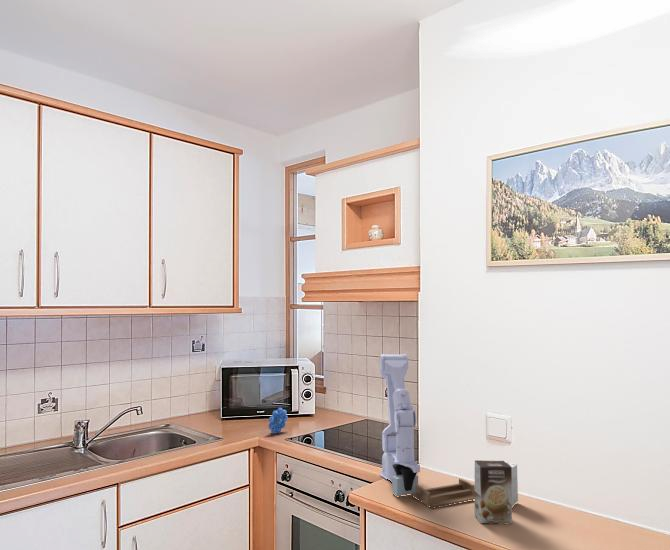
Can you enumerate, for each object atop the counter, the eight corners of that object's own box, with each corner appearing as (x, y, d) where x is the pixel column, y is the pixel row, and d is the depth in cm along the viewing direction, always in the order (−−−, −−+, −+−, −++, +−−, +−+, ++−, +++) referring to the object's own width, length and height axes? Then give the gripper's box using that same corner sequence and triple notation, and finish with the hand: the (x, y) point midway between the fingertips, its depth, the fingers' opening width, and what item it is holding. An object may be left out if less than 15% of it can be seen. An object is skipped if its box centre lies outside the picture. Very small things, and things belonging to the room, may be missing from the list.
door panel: (392, 494, 167) (392, 474, 168) (413, 491, 170) (413, 471, 171) (397, 497, 164) (397, 477, 165) (418, 494, 168) (418, 474, 168)
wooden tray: (412, 496, 166) (412, 483, 166) (457, 488, 173) (457, 476, 173) (431, 509, 155) (431, 495, 156) (478, 500, 163) (478, 487, 163)
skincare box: (505, 500, 163) (504, 461, 164) (518, 503, 160) (517, 464, 161) (497, 505, 158) (497, 466, 159) (511, 509, 155) (510, 469, 156)
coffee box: (480, 524, 145) (480, 467, 145) (474, 515, 151) (473, 460, 152) (512, 524, 145) (512, 466, 146) (504, 515, 151) (503, 459, 152)
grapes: (281, 429, 253) (281, 405, 254) (290, 432, 248) (290, 407, 249) (262, 433, 245) (263, 408, 245) (271, 436, 240) (272, 410, 241)
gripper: (383, 442, 173) (383, 482, 173) (406, 453, 160) (406, 497, 159) (401, 439, 176) (401, 480, 175) (425, 451, 163) (425, 494, 162)
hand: (405, 488), depth 167 cm, fingers closed on door panel, 3 cm apart
